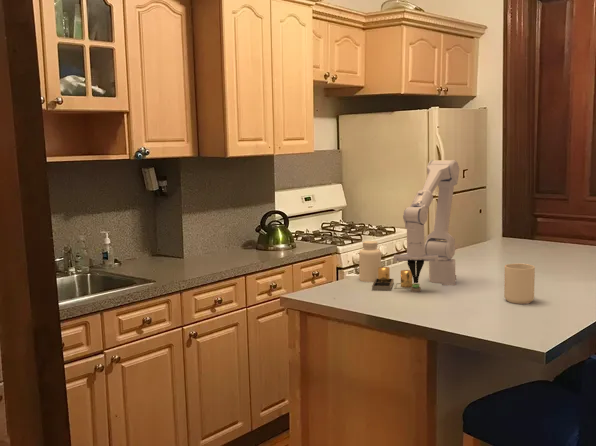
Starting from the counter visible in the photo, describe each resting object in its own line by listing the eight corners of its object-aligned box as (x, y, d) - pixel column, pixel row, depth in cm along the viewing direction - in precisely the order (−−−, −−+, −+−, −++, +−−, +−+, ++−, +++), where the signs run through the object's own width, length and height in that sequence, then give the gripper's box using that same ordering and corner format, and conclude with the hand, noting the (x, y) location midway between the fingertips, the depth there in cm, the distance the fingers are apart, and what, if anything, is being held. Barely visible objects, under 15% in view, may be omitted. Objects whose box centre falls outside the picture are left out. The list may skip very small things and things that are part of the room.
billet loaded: (390, 283, 226) (390, 266, 225) (389, 285, 222) (389, 269, 222) (378, 283, 227) (378, 266, 226) (377, 285, 223) (377, 268, 222)
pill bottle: (380, 284, 229) (380, 243, 227) (358, 284, 231) (357, 243, 229) (382, 279, 237) (381, 240, 235) (360, 279, 239) (359, 240, 237)
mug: (534, 305, 195) (534, 269, 194) (503, 303, 198) (504, 268, 197) (534, 296, 206) (534, 262, 205) (505, 294, 209) (505, 261, 208)
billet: (412, 286, 222) (412, 270, 222) (412, 289, 219) (411, 272, 218) (401, 286, 223) (401, 269, 223) (400, 289, 219) (400, 272, 219)
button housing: (420, 292, 216) (420, 286, 215) (420, 294, 213) (420, 288, 212) (411, 292, 216) (411, 286, 216) (411, 294, 213) (411, 288, 213)
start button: (419, 291, 215) (419, 283, 215) (419, 293, 213) (419, 285, 213) (412, 291, 216) (412, 283, 215) (412, 293, 213) (412, 285, 213)
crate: (394, 285, 227) (394, 278, 227) (391, 293, 215) (391, 286, 215) (375, 285, 229) (375, 278, 228) (371, 293, 217) (371, 285, 216)
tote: (418, 286, 224) (418, 283, 224) (417, 292, 216) (417, 288, 216) (395, 286, 226) (395, 283, 226) (394, 291, 218) (394, 288, 218)
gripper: (392, 244, 210) (393, 284, 212) (437, 244, 207) (437, 285, 208) (394, 240, 217) (395, 279, 219) (438, 241, 214) (438, 280, 215)
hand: (416, 282), depth 214 cm, fingers closed
